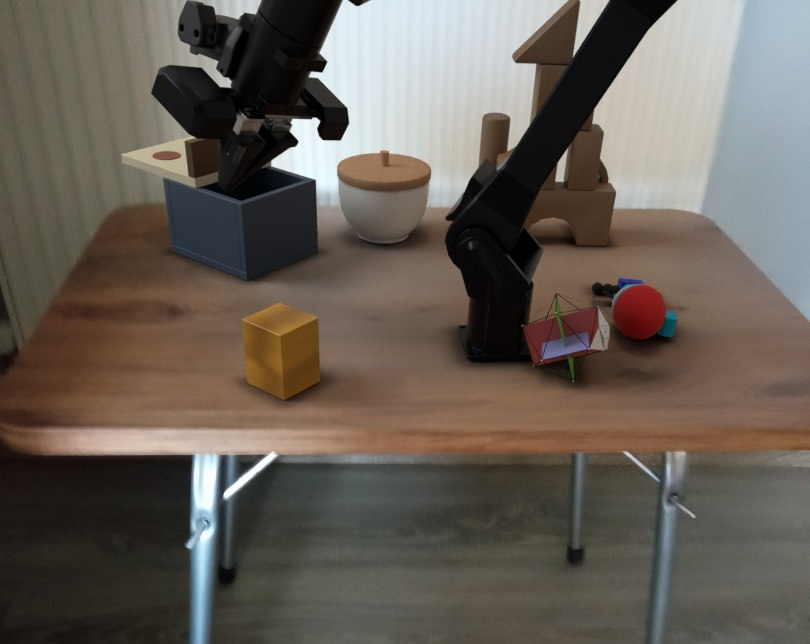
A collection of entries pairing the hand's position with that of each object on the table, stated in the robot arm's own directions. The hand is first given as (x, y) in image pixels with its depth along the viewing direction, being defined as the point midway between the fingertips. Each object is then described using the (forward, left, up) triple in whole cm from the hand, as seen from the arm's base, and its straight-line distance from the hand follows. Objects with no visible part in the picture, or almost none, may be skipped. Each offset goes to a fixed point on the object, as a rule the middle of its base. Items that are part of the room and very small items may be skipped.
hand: (224, 188), depth 83 cm
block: (-16, -5, -11) cm, 20 cm away
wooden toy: (+18, -36, -12) cm, 42 cm away
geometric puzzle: (-15, -30, -12) cm, 35 cm away
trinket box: (+19, -17, -12) cm, 28 cm away
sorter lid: (+19, +4, -3) cm, 19 cm away
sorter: (+14, -1, -11) cm, 18 cm away
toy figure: (-5, -40, -12) cm, 42 cm away
